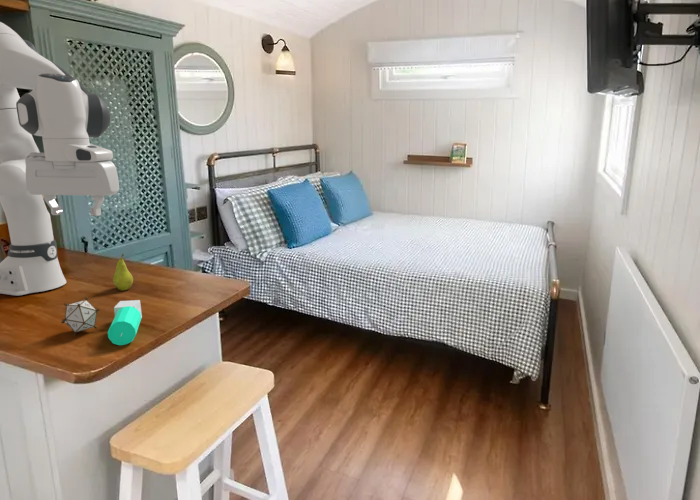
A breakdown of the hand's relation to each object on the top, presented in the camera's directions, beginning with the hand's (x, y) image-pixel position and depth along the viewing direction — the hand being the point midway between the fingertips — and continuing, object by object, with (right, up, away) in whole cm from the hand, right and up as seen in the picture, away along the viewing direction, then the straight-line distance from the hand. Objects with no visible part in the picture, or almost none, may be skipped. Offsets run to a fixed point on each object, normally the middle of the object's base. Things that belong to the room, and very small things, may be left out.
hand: (76, 215), depth 110 cm
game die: (-2, -26, +7) cm, 27 cm away
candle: (+6, -25, +13) cm, 29 cm away
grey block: (+4, -27, +18) cm, 32 cm away
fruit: (-9, -21, +43) cm, 49 cm away
